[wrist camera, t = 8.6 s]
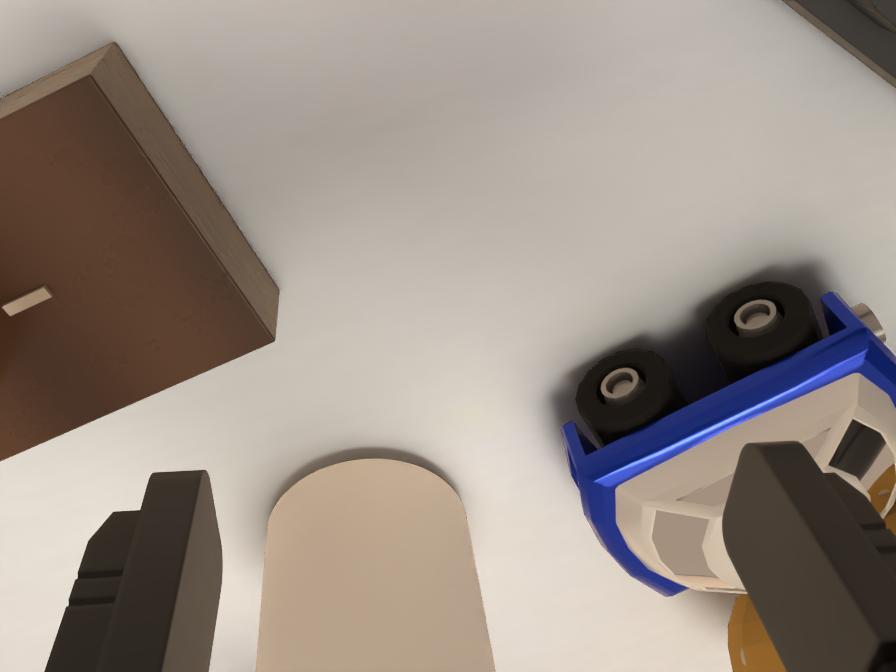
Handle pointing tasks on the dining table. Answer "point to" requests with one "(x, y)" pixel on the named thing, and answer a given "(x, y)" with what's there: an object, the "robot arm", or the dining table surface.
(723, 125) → the dining table surface
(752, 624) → the hamburger
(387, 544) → the beige cylinder
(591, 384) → the toy car
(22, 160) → the plate
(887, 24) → the button box
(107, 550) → the robot arm
